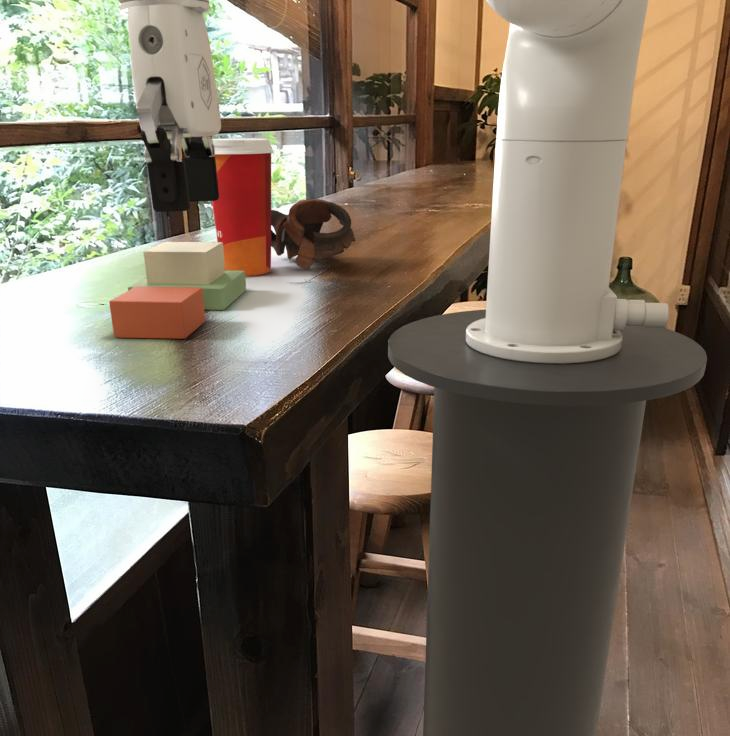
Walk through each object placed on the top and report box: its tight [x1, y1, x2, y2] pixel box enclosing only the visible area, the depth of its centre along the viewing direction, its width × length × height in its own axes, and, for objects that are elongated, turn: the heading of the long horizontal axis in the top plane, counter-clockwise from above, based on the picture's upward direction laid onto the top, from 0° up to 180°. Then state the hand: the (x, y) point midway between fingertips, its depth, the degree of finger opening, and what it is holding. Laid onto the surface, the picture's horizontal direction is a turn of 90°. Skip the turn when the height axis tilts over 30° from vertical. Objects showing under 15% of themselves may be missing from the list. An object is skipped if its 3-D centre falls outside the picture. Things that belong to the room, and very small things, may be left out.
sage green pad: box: [127, 271, 247, 311], centre depth 79 cm, size 9×9×2 cm
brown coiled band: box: [271, 198, 356, 271], centre depth 96 cm, size 12×10×8 cm
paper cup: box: [211, 137, 275, 277], centre depth 90 cm, size 8×8×14 cm
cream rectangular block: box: [143, 241, 225, 285], centre depth 78 cm, size 6×6×3 cm
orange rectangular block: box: [108, 286, 206, 340], centre depth 68 cm, size 6×6×3 cm
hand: (188, 205), depth 75 cm, fingers open, 9 cm apart
